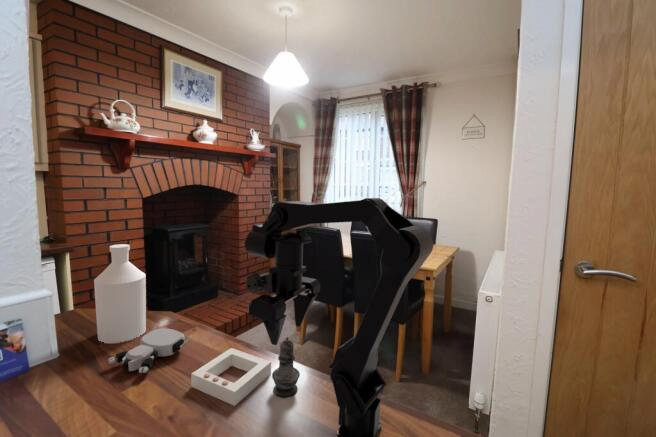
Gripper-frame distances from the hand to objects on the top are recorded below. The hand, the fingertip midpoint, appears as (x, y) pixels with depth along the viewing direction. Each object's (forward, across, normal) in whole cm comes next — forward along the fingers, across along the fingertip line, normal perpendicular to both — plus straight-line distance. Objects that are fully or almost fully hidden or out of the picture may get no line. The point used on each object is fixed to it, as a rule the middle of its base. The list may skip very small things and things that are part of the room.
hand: (286, 334), depth 66 cm
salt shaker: (+13, 0, 0) cm, 13 cm away
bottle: (+12, +2, -53) cm, 55 cm away
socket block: (+12, +3, -12) cm, 18 cm away
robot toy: (+13, +6, -35) cm, 38 cm away
